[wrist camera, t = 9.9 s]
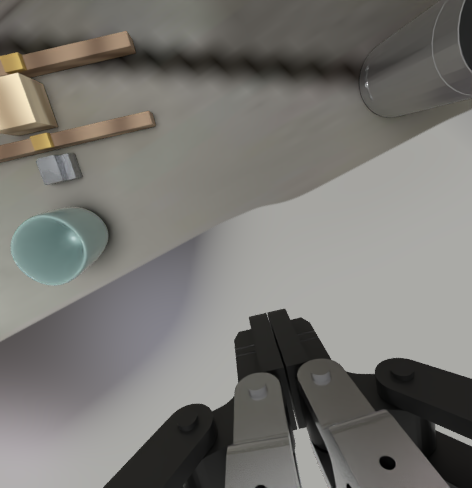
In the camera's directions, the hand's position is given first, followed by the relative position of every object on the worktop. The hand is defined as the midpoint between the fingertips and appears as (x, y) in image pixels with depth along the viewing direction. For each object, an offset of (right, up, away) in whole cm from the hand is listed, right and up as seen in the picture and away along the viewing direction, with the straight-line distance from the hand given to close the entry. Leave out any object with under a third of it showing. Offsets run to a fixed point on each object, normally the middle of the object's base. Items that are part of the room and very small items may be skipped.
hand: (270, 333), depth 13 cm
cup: (-22, +5, +31) cm, 38 cm away
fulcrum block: (-24, +13, +28) cm, 39 cm away
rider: (-27, +20, +26) cm, 42 cm away
